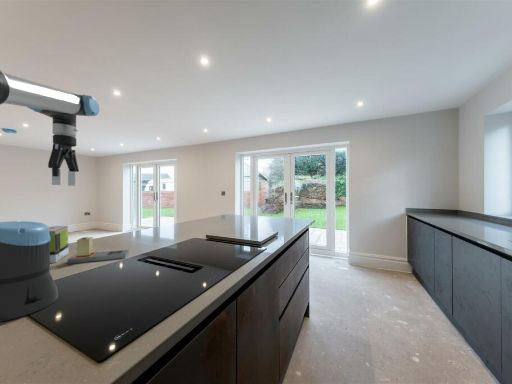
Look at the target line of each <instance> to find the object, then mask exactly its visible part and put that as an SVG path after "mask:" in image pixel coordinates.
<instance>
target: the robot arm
mask: <svg viewBox="0 0 512 384" xmlns="http://www.w3.org/2000/svg"><path fill="white" fill-rule="evenodd" d="M98 102H99V101H98V100H97V99H96V97H94V96H92V95H86V94H76V93H74V92H69V91H67V90H62V89H59V88H57V87H56V88H55V87H53V86H49V85H46V84H43V83H39V82H36V81H32V80H29V79H26V78H23V77H18V76H16V75H13V74H10V73H6V72H3V71H2V70H1V69H0V106H1V105H3V104H7V105H13V106H20V107H26V108H27V109H30V110H32V111H33V112H35V113H39V114H42V115H44V116H47V117H49V118H52V150H51V153H50V157H49V160H48V164H47V167H48V168H49V169H51V185H52V186H62V185H63V183H62V168H61V167H62V164H63V162H64V161H65V163H66V165H67V169H68V172H67V186H70V187H71V186H74V187H76V186H77V173H78V172H79V171H80V170H79V165H78V161H77V160H78V159H77V157H76V150H75V149H72V148H73V147H76V146H77V138H76V137H77V132H78V131H79V130H78V129H77V116H81V117H95V116H98V115H99V113H100V105H99V103H98ZM48 227H49V226H48V225H47V224H45V223H43V222H39V221H27V220H22V221H17V220H15V221H13V220H12V221H0V323H1V322H5V321H6V322H7V321H10V320H14V319H18V318H21V317H25V316H27V315H31V314H33V313H36V312H38V311H40V310H43V309H45V308H47V307H48V306H50V305H52V304H53V303H55V302H56V301H57V300H58V298H59V290H58V287H57V285H56V283H55V281H54V279H53V277H52V275H51V272H50V271H51V270H50V269H51V268H50V266H51V263H50V239H51V238H50V235H49V228H48Z"/></svg>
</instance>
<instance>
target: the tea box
mask: <svg viewBox="0 0 512 384" xmlns="http://www.w3.org/2000/svg"><path fill="white" fill-rule="evenodd" d="M48 228H49V235H50V238H51V239H50V264H53V263H54V264H55V263H57V262H59V261H60V260H61V259H63V258H64V257H65V256H67V255H68V254H69V252H70V251H69V226H68V225H56V226H54V225H53V226H48Z"/></svg>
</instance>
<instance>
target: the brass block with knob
mask: <svg viewBox="0 0 512 384" xmlns="http://www.w3.org/2000/svg"><path fill="white" fill-rule="evenodd" d="M93 241H94V238H93V237H92V236H89V237H88V236H86V237H81V238H78V239H76V254H77V257H86V256H91V255H92V254H93V252H94V247H93V246H94V242H93Z"/></svg>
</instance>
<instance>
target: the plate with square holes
mask: <svg viewBox="0 0 512 384" xmlns="http://www.w3.org/2000/svg"><path fill="white" fill-rule="evenodd" d="M129 254H130V249H121V250H119V249H118V250H109V251H93V254H92V255H91V256H86V257H77V253H76V254H74V255H72V256H70V257H69V258H67V265H70V264H81V263H89V262H101V261H102V262H103V261H110V260H111V261H112V260H118V259H119V260H122V259H126V258H127V257H128V256H129Z"/></svg>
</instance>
